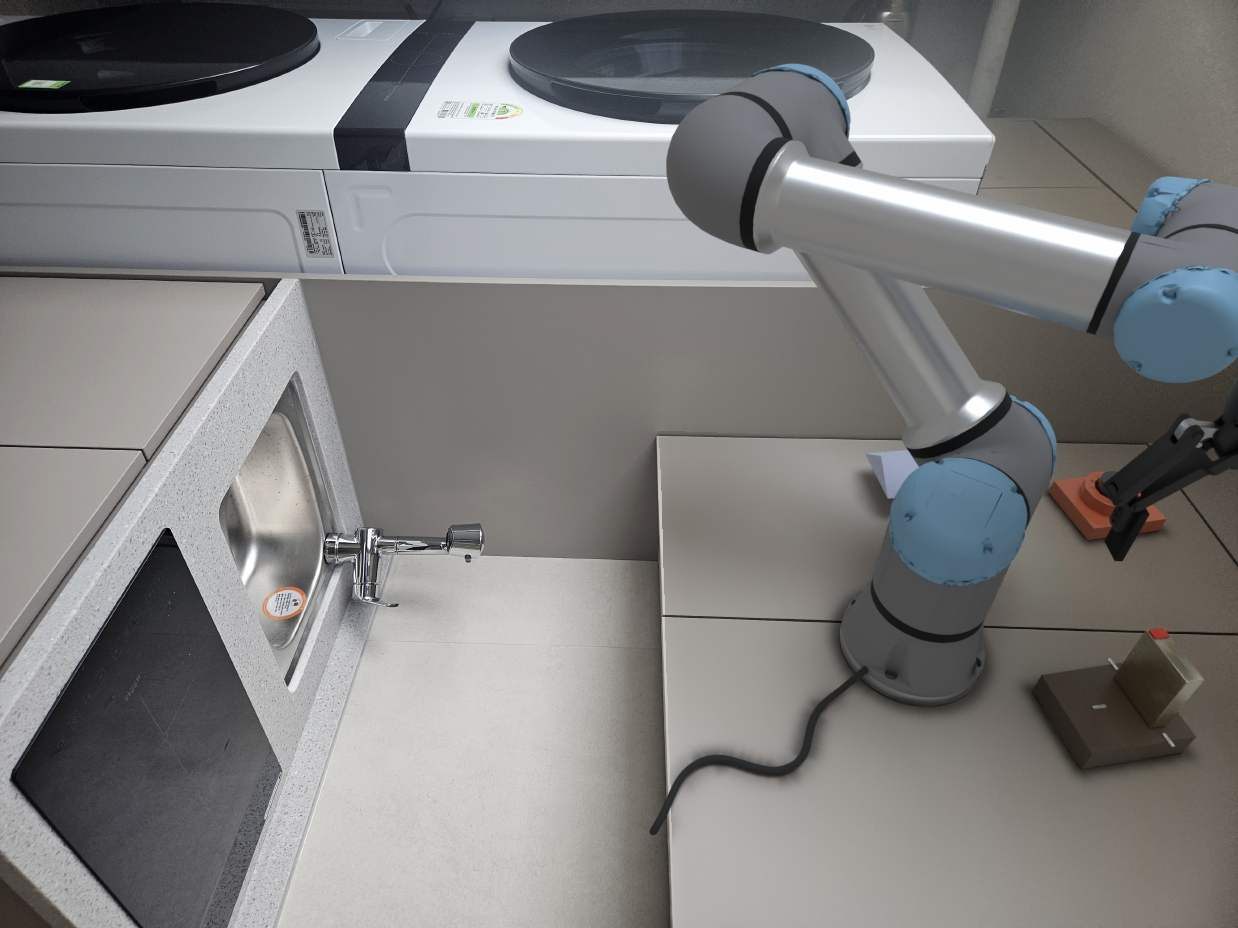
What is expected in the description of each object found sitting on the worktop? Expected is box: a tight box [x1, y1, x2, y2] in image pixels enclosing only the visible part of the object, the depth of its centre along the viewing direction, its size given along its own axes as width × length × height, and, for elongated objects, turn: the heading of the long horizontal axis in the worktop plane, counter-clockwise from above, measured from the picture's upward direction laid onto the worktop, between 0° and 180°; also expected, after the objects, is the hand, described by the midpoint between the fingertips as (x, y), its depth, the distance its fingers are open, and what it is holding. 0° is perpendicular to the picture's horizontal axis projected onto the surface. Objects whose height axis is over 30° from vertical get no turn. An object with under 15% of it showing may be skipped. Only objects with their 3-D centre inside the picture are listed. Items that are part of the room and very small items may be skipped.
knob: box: [1114, 627, 1205, 728], centre depth 79 cm, size 6×2×8 cm, turn 9°
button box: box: [1048, 470, 1167, 541], centre depth 104 cm, size 10×9×4 cm
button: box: [1096, 470, 1118, 499], centre depth 103 cm, size 4×4×2 cm
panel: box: [1032, 657, 1197, 770], centre depth 82 cm, size 13×10×3 cm
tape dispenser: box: [864, 449, 919, 499], centre depth 107 cm, size 9×7×13 cm
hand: (1184, 554), depth 79 cm, fingers open, 13 cm apart
